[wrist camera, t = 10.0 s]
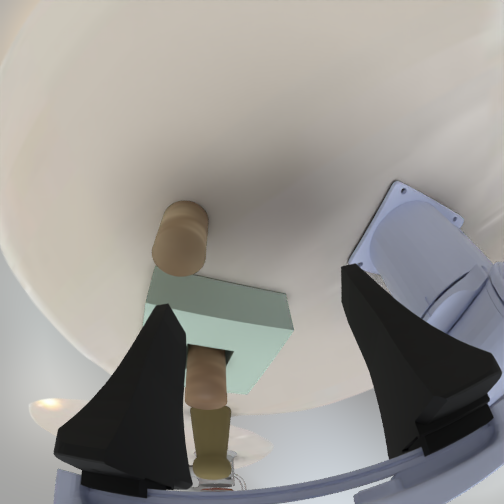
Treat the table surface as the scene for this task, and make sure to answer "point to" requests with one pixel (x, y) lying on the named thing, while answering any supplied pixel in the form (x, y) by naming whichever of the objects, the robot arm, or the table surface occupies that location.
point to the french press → (222, 482)
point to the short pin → (181, 239)
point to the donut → (194, 489)
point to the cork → (211, 442)
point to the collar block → (226, 322)
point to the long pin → (205, 378)
